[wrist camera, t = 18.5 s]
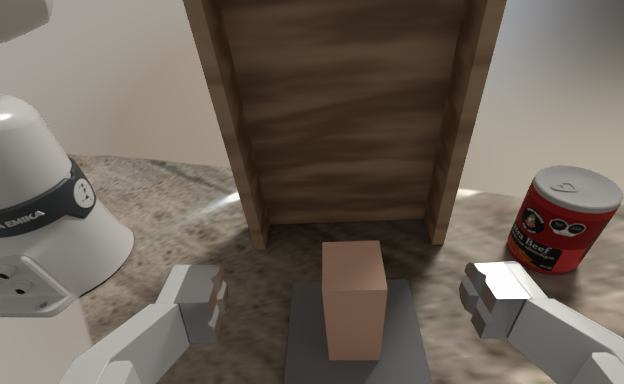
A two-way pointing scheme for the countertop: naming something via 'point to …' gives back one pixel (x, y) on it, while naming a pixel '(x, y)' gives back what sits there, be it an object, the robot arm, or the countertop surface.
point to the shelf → (346, 104)
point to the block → (353, 299)
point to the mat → (354, 373)
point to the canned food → (562, 218)
